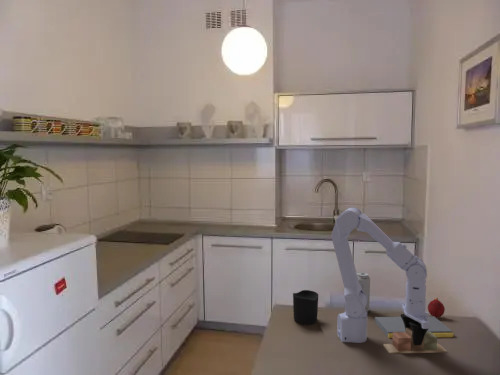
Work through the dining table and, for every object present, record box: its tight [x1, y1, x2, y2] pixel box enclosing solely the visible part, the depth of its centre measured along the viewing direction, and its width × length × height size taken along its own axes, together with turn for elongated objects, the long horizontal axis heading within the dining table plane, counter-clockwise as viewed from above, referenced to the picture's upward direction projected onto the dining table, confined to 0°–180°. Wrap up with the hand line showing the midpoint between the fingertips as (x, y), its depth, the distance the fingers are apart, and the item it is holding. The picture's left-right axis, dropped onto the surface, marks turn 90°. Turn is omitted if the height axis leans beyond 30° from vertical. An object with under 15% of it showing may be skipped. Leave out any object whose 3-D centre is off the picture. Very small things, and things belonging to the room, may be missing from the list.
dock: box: [374, 315, 454, 339], centre depth 132 cm, size 22×13×2 cm, turn 92°
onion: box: [427, 297, 446, 319], centre depth 142 cm, size 6×6×8 cm
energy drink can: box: [356, 271, 371, 313], centre depth 149 cm, size 6×6×15 cm
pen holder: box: [292, 289, 319, 325], centre depth 140 cm, size 9×9×10 cm
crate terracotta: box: [391, 332, 411, 351], centre depth 117 cm, size 4×4×4 cm
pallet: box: [382, 328, 448, 354], centre depth 118 cm, size 18×5×7 cm, turn 92°
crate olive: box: [424, 332, 438, 350], centre depth 118 cm, size 4×4×4 cm
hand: (414, 341), depth 118 cm, fingers closed on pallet, 4 cm apart
